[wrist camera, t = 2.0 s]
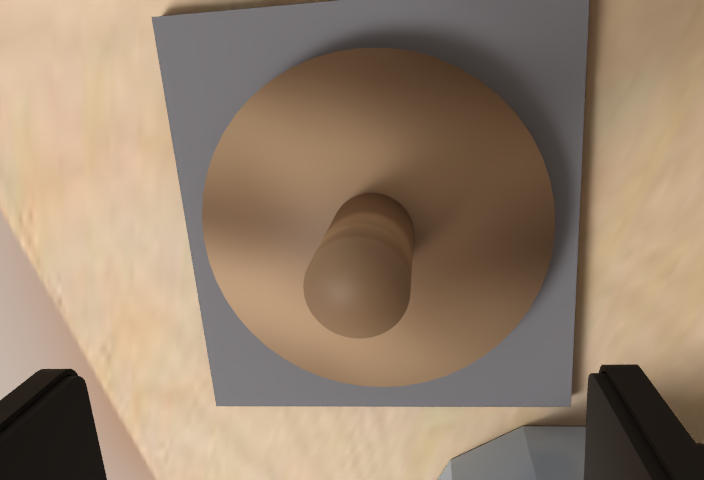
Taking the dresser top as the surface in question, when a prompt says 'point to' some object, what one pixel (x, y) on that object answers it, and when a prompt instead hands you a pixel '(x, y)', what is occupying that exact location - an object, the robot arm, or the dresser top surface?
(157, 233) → the dresser top surface
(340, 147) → the lid
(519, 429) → the bowl
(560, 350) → the mat
